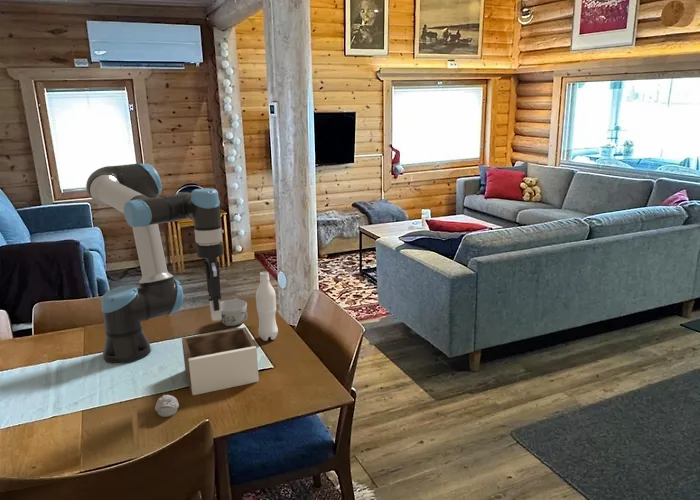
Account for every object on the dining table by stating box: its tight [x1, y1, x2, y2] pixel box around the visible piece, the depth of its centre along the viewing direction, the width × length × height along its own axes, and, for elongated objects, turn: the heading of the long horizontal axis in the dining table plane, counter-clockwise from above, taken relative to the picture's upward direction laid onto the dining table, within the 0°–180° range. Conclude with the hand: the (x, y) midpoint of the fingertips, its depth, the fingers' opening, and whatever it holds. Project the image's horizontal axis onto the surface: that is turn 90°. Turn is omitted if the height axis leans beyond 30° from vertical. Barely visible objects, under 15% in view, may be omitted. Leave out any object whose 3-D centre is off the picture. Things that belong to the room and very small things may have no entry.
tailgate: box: [188, 345, 260, 396], centre depth 156 cm, size 19×2×11 cm, turn 113°
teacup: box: [219, 298, 248, 327], centre depth 207 cm, size 15×12×8 cm
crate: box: [181, 327, 257, 394], centre depth 164 cm, size 20×15×12 cm
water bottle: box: [255, 271, 279, 342], centre depth 192 cm, size 7×7×25 cm
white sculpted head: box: [154, 394, 180, 418], centre depth 144 cm, size 6×7×7 cm
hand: (216, 318), depth 160 cm, fingers closed
